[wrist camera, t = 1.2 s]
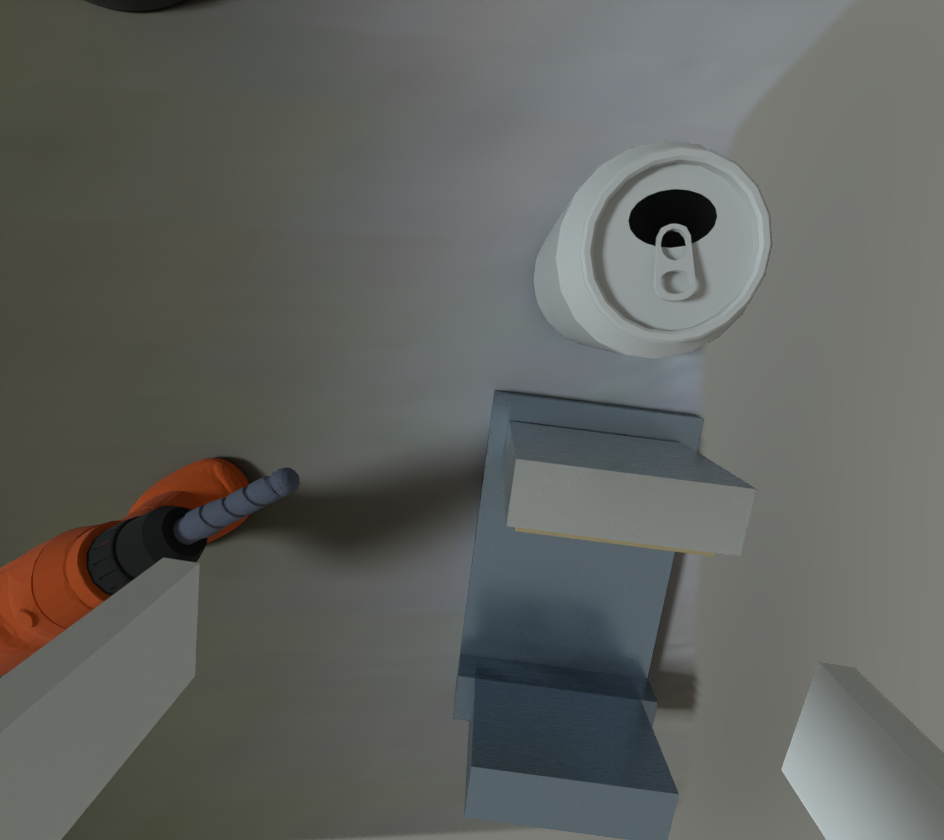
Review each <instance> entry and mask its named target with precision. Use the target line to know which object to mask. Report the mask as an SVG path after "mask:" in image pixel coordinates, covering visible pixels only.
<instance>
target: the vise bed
mask: <svg viewBox="0 0 944 840" xmlns="http://www.w3.org/2000/svg"><path fill="white" fill-rule="evenodd" d="M509 421H512V422H520V423H528V424H536V425H544V426H552V427H560V428H568V429H576V430H584V431H591V432H599V433H607V434H615V435H623V436H631V437H639V438H647V439H655V440H663V441H671V442H679V443H683V444H685V445H687V446H688V447H690V448H691V449H693V450H695V451H696V452H697V449H698V444H699V440H700V435H701V431H702V426H703V421H704V419H703V418H701V417H699V416H695V415H687V414H680V413H672V412H664V411H656V410H648V409H640V408H632V407H624V406H616V405H608V404H600V403H592V402H584V401H576V400H568V399H560V398H552V397H544V396H536V395H528V394H520V393H512V392H504V391H496V390H495V392H494V399H493V407H492V414H491V422H490V430H489V437H488V445H487V453H486V460H485V468H484V475H483V483H482V491H481V498H480V506H479V513H478V521H477V529H476V536H475V544H474V551H473V559H472V567H471V574H470V582H469V590H468V597H467V605H466V612H465V620H464V628H463V635H462V643H461V650H460V658H459V666H458V673H457V681H456V691H455V701H454V712H453V719H458V720H466V721H469V732H468V751H467V770H466V790H465V809H464V817H465V818H472V819H480V820H487V821H494V822H502V823H509V824H517V825H524V826H531V827H539V828H546V829H554V830H561V831H568V832H576V833H584V834H591V835H598V836H606V837H613V838H620V839H628V840H668V836H669V832H670V828H671V824H672V819H673V816H674V812H675V808H676V803H677V799H678V795H679V794H678V791H677V789H676V786H675V784H674V781H673V779H672V776H671V774H670V771H669V769H668V766H667V764H666V761H665V759H664V756H663V754H662V751H661V749H660V746H659V744H658V741H657V739H656V736H655V734H654V731H653V729H652V725H653V721H654V717H655V712H656V708H657V703H658V702H657V700H656V697H655V695H654V693H653V691H652V688H651V686H650V684H649V681H648V679H647V677H648V673H649V668H650V664H651V659H652V655H653V650H654V645H655V641H656V636H657V632H658V627H659V623H660V618H661V613H662V609H663V604H664V600H665V595H666V591H667V586H668V581H669V577H670V572H671V568H672V563H673V559H674V554H675V552H674V551H666V550H659V549H651V548H643V547H635V546H627V545H620V544H612V543H604V542H596V541H588V540H581V539H573V538H565V537H557V536H550V535H542V534H534V533H526V532H518V531H515V528H514V527H509V526H506V516H505V503H504V491H503V479H502V466H503V459H504V452H505V445H506V438H507V430H508V423H509Z"/></svg>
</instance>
